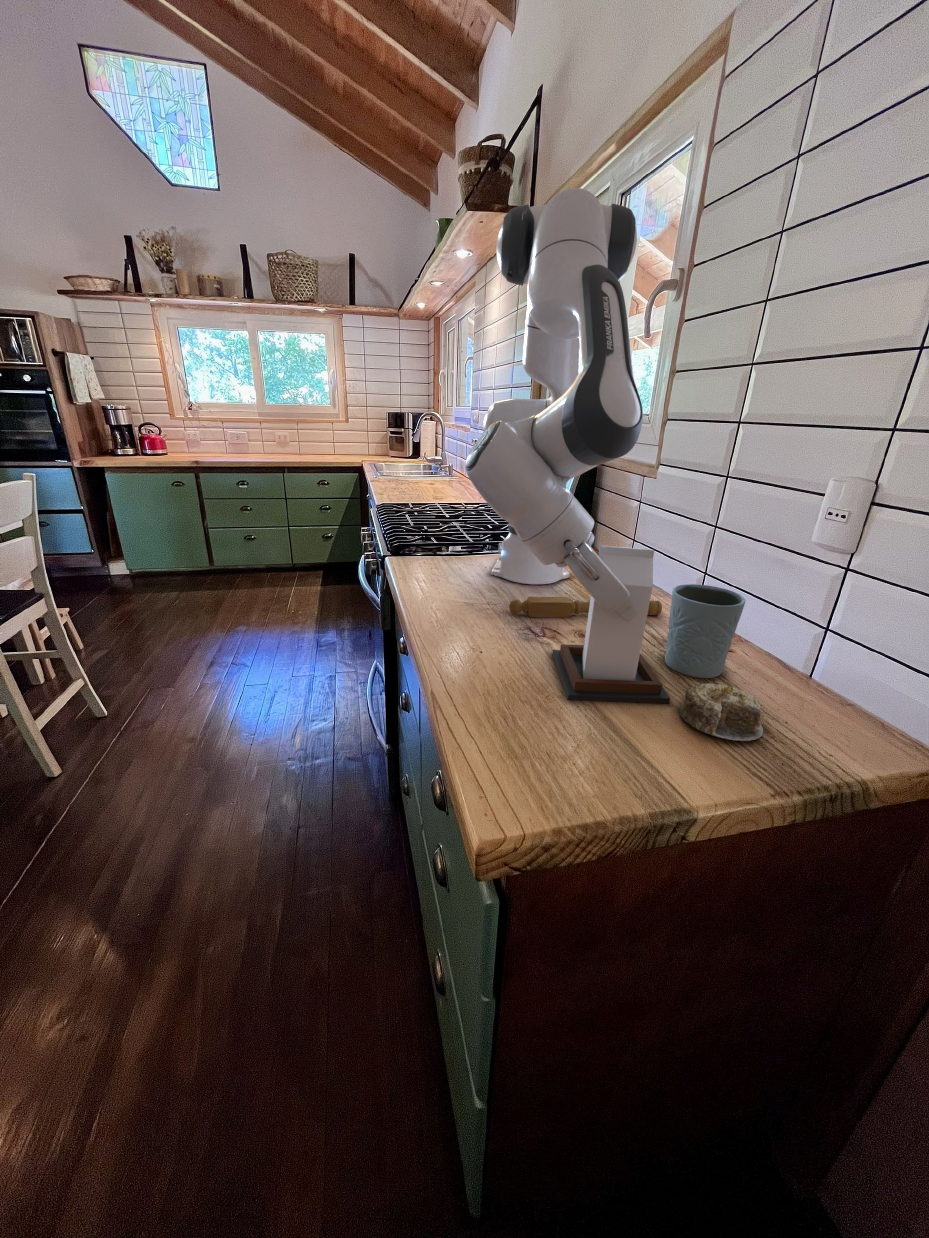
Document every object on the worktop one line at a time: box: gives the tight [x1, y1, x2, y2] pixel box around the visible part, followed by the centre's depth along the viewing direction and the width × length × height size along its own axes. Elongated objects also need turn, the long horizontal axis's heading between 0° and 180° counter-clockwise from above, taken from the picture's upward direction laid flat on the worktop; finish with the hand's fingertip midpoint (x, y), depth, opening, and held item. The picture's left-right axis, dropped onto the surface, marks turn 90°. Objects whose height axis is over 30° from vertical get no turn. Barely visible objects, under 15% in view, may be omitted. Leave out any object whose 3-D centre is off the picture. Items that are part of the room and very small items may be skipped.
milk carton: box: [582, 545, 655, 681], centre depth 71 cm, size 7×7×19 cm
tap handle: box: [508, 596, 663, 618], centre depth 97 cm, size 3×3×30 cm
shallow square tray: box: [552, 643, 671, 704], centre depth 74 cm, size 14×14×2 cm
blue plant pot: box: [664, 583, 746, 679], centre depth 77 cm, size 10×10×12 cm
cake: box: [678, 683, 764, 742], centre depth 64 cm, size 10×10×5 cm
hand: (621, 604), depth 70 cm, fingers open, 8 cm apart
